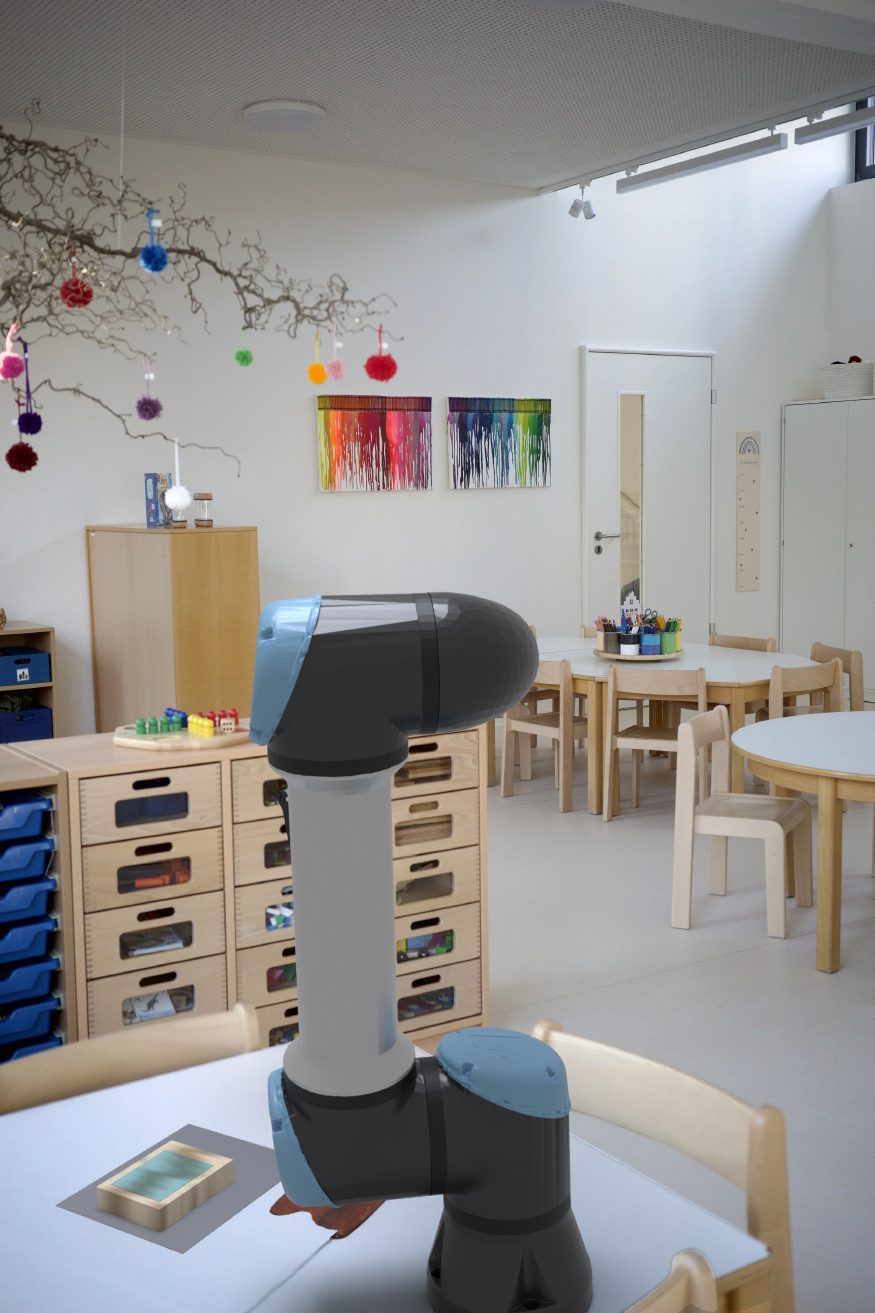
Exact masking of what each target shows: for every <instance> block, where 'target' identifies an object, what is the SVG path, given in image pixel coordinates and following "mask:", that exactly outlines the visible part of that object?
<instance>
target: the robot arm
mask: <svg viewBox="0 0 875 1313" xmlns="http://www.w3.org/2000/svg"><path fill="white" fill-rule="evenodd" d="M256 632H257V634H256V647H255V656H254V658H255V659H254V670H253V678H252V679H253V681H252V694H251V696H252V697H251V703H250V704H251V705H250V706H251V708H250V716H249V718H250V719H249V731H248V739H249V742H250V743H252V744H255V745H258V746H259V747H265V746H266V751H267V753H266V754H267V763H268V766H269V768H270V769H271V770H273V772H275V773H276V774H277V775H278V776H280V777H281V778H282V779H283V780H284V781H285V782H286V784H287V788H286V789H284V790H279V791H277V792H276V793H275V798H276V800H277V802H278V804H279V806H280V808H281V810H282V814H283V820H284V826H285V831H286V837H287V841H288V842H287V843H288V848H289V853H290V861H291V863H290V864H291V866H290V867H291V884H292V885H291V886H292V905H293V906H292V908H293V924H294V925H293V927H294V928H293V930H294V948H295V950H294V951H295V952H294V953H295V968H296V969H295V970H296V974H295V975H296V991H297V992H296V993H297V994H296V995H297V1013H298V1014H297V1015H298V1033H299V1035H298V1036H297V1037H295V1038H294V1039H293V1040H292V1041H291V1042H289V1044H288V1045H287V1047H286V1049H285V1051H284V1053H283V1057H282V1067H281V1068H280V1067H279V1068H278V1069H275V1070H273V1071H271V1072H270V1073H269V1075H268V1078H267V1101H268V1113H269V1118H270V1125H271V1131H272V1134H271V1135H272V1143H273V1149H274V1150H275V1156H276V1161H277V1166H278V1171H279V1175H280V1179H281V1182H280V1183H281V1186H282V1188H283V1192H284V1193H285V1194H286V1196H287V1197H288V1198H289V1199H290V1200H291V1201H292V1202H293V1203H294V1204H296V1205H298V1206H301V1207H318V1206H331V1207H335V1208H339V1207H342V1206H343V1205H346V1204H356V1203H365V1202H375V1201H384V1202H385V1201H393V1200H402V1199H413V1198H422V1197H423V1198H424V1197H431V1196H441V1195H442V1200H443V1208H442V1211H441V1216H440V1220H439V1223H438V1226H437V1229H436V1233H435V1236H434V1238H433V1243H432V1245H431V1249H430V1251H429V1252H430V1253H429V1256H428V1260H427V1265H426V1266H427V1267H426V1287H427V1288H426V1289H427V1290H426V1293H427V1298H428V1301H429V1304H430V1306H431V1308H432V1310H433V1311H434V1312H435V1313H586V1311H587V1310H588V1309H589V1306H590V1305H591V1302H592V1299H593V1269H592V1267H593V1266H592V1263H591V1259H590V1255H589V1253H588V1251H587V1248H586V1245H585V1242H584V1240H583V1237H582V1233H581V1231H580V1227H579V1225H578V1223H577V1220H576V1216H575V1215H574V1211H573V1208H572V1194H571V1192H572V1191H571V1186H572V1185H571V1180H572V1179H571V1146H570V1143H571V1142H570V1138H571V1136H570V1112H571V1109H572V1103H571V1099H570V1094H569V1085H568V1076H567V1068H566V1065H565V1063H564V1060H563V1059H562V1058H561V1056H560V1055H559V1053H558V1052H557V1051H556V1050H555V1049H554V1048H553V1047H552V1046H550V1045H549V1044H547V1043H546V1042H545V1041H542V1040H540V1039H539V1038H536V1037H533V1036H531V1035H529V1034H526V1033H523V1032H520V1031H516V1030H511V1029H506V1028H501V1027H489V1026H485V1027H483V1026H479V1027H478V1026H474V1027H473V1026H472V1027H466V1028H459V1029H458V1030H456V1032H453V1031H452V1032H448V1033H447V1034H445V1035H444V1036H443V1037H442V1038H441V1039H440V1041H439V1043H438V1046H437V1047H436V1050H435V1055H431V1056H421V1057H416V1048H415V1046H414V1043H413V1041H412V1040H411V1039H410V1038H409V1036H408V1035H406V1033H404V1032H402V1031H401V1030H400V1029H398V1003H397V1002H398V1001H397V999H398V998H397V967H396V966H397V963H396V929H395V927H396V926H395V894H394V893H395V889H394V887H395V886H394V850H393V848H394V846H393V814H392V808H393V807H392V778H393V776H394V775H395V774H396V773H397V772H398V771H399V770H401V768H402V767H403V766H404V765H405V764H406V763H408V761H409V757H410V756H409V755H410V753H409V737H414V736H423V735H424V736H426V735H427V736H428V735H435V734H436V735H437V734H438V735H439V734H441V735H442V734H448V733H455V732H460V731H464V730H469V729H472V728H476V727H478V726H482V725H484V724H486V723H488V722H491V721H493V720H495V719H497V718H499V717H501V716H503V715H504V714H506V713H508V712H509V711H510V710H511V709H513V708H515V707H516V706H517V705H518V704H519V703H520V702H521V701H522V700H523V699H524V698H525V697H526V696H527V694H528V693H529V691H530V690H531V689H532V687H533V685H534V683H535V680H536V678H537V674H538V670H539V666H540V652H539V647H538V642H537V641H538V640H537V638H536V636H535V633H534V632H533V630H532V629H531V627H530V626H529V624H528V623H527V621H525V619H524V618H523V617H522V616H521V615H520V614H519V613H517V612H516V611H514V610H513V609H511V608H509V607H508V606H506V605H504V604H502V603H499V602H497V601H494V600H490V599H486V598H483V597H480V596H476V595H473V594H467V593H459V592H454V591H453V592H451V591H427V592H420V593H419V592H415V593H414V592H413V593H411V592H410V593H381V594H379V593H377V594H374V593H373V594H368V593H367V594H333V595H331V594H329V595H327V594H326V595H321V594H314V595H312V596H305V597H296V598H295V597H294V598H287V599H286V598H285V599H279V600H275V601H272V602H269V603H268V604H267V605H266V606H265V607H264V608H263V610H262V611H261V612H260V615H259V617H258V621H257V631H256Z"/></svg>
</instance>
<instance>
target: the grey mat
mask: <svg viewBox="0 0 875 1313" xmlns="http://www.w3.org/2000/svg"><path fill="white" fill-rule="evenodd" d="M171 1140H172V1141H176V1142H179V1143H182V1144H185V1145H188V1146H191V1147H195V1148H198V1149H201V1150H204V1151H207V1152H211V1153H214V1154H217V1155H220V1156H223V1157H226V1158H230V1159H233V1168H234V1181H233V1182H232V1183H230V1184H229V1185H227V1186H226V1187H225V1188H223V1189H222V1190H220V1191H219V1192H218V1193H216V1194H215V1195H213V1196H212V1197H210V1198H209V1199H208V1200H206V1201H205V1202H203V1203H202V1204H200V1205H199V1206H198V1207H196V1208H195V1209H193V1210H192V1211H191V1212H189V1213H188V1214H186V1215H185V1216H183V1217H182V1218H181V1219H179V1220H178V1221H176V1222H175V1223H173V1224H172V1225H171V1226H169V1227H168V1228H166V1229H165V1230H164V1231H162V1232H159V1231H156V1230H154V1229H151V1228H148V1227H145V1226H143V1225H140V1224H137V1223H135V1222H132V1221H129V1220H127V1219H124V1218H121V1217H118V1216H116V1215H113V1214H110V1213H108V1212H105V1211H102V1210H100V1209H98V1205H97V1189H96V1187H97V1186H98V1185H100V1184H102V1183H103V1182H105V1181H107V1180H108V1179H110V1178H111V1177H113V1176H115V1175H116V1174H118V1173H119V1172H121V1171H123V1170H124V1169H126V1168H128V1167H129V1166H131V1165H132V1164H134V1163H136V1162H137V1161H139V1160H140V1159H142V1158H144V1157H145V1156H147V1155H149V1154H150V1153H152V1152H153V1151H155V1150H157V1149H158V1148H160V1147H161V1146H163V1145H165V1144H166V1143H168V1142H170V1141H171ZM279 1183H281V1179H280V1175H279V1171H278V1166H277V1161H276V1156H275V1150H274V1148H270V1147H267V1146H265V1145H260V1144H257V1143H254V1142H251V1141H249V1140H248V1141H247V1140H244V1139H240V1138H238V1137H234V1136H231V1135H228V1134H223V1133H221V1132H218V1131H213V1130H211V1129H207V1128H204V1127H201V1126H198V1125H194V1124H191V1123H187V1124H185V1125H184V1126H183V1127H181V1128H179V1129H177V1130H176V1131H174V1132H173V1133H171V1134H170V1135H168V1136H166V1137H165V1138H163V1139H161V1140H159V1141H158V1142H156V1143H154V1144H153V1145H151V1146H150V1147H148V1148H146V1149H145V1150H143V1151H142V1152H140V1153H138V1154H137V1155H135V1156H134V1157H131V1158H130V1159H129V1160H127V1161H125V1162H123V1163H122V1164H120V1165H119V1166H117V1167H116V1168H114V1169H112V1170H110V1171H109V1172H108V1173H106V1174H104V1175H102V1176H101V1177H99V1178H98V1179H96V1180H94V1181H93V1182H91V1183H89V1184H88V1185H86V1186H84V1187H83V1188H82V1189H79V1190H78V1191H77V1192H75V1193H73V1194H71V1195H69V1197H67V1198H65V1199H63V1200H62V1201H59V1203H57V1204H56V1205H55V1207H58V1208H61V1209H64V1210H66V1211H67V1212H71V1213H74V1214H77V1215H79V1216H81V1217H84V1218H86V1219H87V1218H88V1219H90V1220H92V1221H95V1222H98V1223H100V1224H103V1225H106V1226H107V1227H111V1228H114V1229H116V1230H119V1231H121V1232H124V1233H126V1234H130V1235H131V1236H134V1237H137V1238H140V1239H143V1240H144V1241H148V1242H150V1243H152V1244H155V1245H159V1246H160V1247H164V1248H166V1249H169V1250H171V1251H174V1252H176V1253H180V1254H181V1255H184V1254H185V1253H186V1252H187V1251H189V1250H190V1249H191V1248H193V1247H194V1246H196V1245H197V1244H198V1243H199V1242H201V1241H203V1240H204V1239H205V1238H206V1237H208V1236H209V1235H210V1234H212V1233H213V1232H215V1231H216V1230H217V1229H218V1228H220V1227H222V1225H224V1224H225V1223H227V1222H228V1221H230V1220H231V1219H232V1218H233V1217H235V1216H236V1215H237V1214H239V1213H240V1212H242V1211H243V1210H244V1209H245V1208H247V1207H248V1206H250V1205H251V1204H252V1203H254V1202H255V1201H256V1200H258V1199H259V1198H261V1197H262V1196H263V1195H265V1194H266V1193H267V1192H268V1191H269V1190H271V1189H273V1188H274V1187H275V1186H276V1185H278V1184H279Z"/></svg>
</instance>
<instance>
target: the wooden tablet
mask: <svg viewBox="0 0 875 1313" xmlns="http://www.w3.org/2000/svg"><path fill="white" fill-rule="evenodd" d="M384 1202H385V1201H375V1202H365V1203H356V1204H346V1205H343V1206H342V1207H339V1208H335V1207H331V1206H318V1207H301V1206H298V1205H296V1204H294V1203H293V1202H292V1201H291V1200H290V1199H289V1198H288V1197H287V1196H286V1194H285V1192H284V1193H283V1194H282V1195H281V1196H280V1197H279V1198H277V1200H276V1201H275V1202H274V1203H273V1204H272V1205H271V1206H270V1208H269V1210H268V1211H269V1213H270V1214H271V1215H273V1216H276V1217H277V1216H278V1217H279V1216H280V1217H281V1216H289V1215H293V1214H296V1213H300V1212H303V1213H309V1214H310V1215H311V1220H312V1221H313V1222H314V1224H316V1226H318V1227H321V1228H323V1229H326V1230H331V1231H332V1230H334V1231H336V1232H335V1233H333V1234H332V1235H331V1236H330V1237H329V1239H332V1240H338V1239H342V1238H344V1237H346V1236H347V1235H348V1234H349V1233H351V1232H352V1231H353V1230H354V1229H356V1228H357V1227H358V1226H359V1225H360V1224H362V1222H364V1221H365V1220H366V1219H367V1218H368V1217H369V1216H370V1215H372V1213H374V1212H375V1211H376V1210H377V1209H378V1208H379V1207H380V1206H381V1205H382V1204H383V1203H384Z"/></svg>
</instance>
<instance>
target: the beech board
mask: <svg viewBox="0 0 875 1313" xmlns="http://www.w3.org/2000/svg"><path fill="white" fill-rule="evenodd" d="M233 1181H234V1168H233V1159H230V1158H226V1157H223V1156H220V1155H217V1154H214V1153H211V1152H207V1151H204V1150H201V1149H198V1148H195V1147H191V1146H188V1145H185V1144H182V1143H179V1142H176V1141H172V1140H171V1141H170V1142H168V1143H166V1144H165V1145H163V1146H161V1147H160V1148H158V1149H157V1150H155V1151H153V1152H152V1153H150V1154H149V1155H147V1156H145V1157H144V1158H142V1159H140V1160H139V1161H137V1162H136V1163H134V1164H132V1165H131V1166H129V1167H128V1168H126V1169H124V1170H123V1171H121V1172H119V1173H118V1174H116V1175H115V1176H113V1177H111V1178H110V1179H108V1180H107V1181H105V1182H103V1183H102V1184H100V1185H98V1186H97V1187H96V1189H97V1205H98V1209H100V1210H102V1211H105V1212H108V1213H110V1214H113V1215H116V1216H118V1217H121V1218H124V1219H127V1220H129V1221H132V1222H135V1223H137V1224H140V1225H143V1226H145V1227H148V1228H151V1229H154V1230H156V1231H159V1232H162V1231H164V1230H165V1229H166V1228H168V1227H169V1226H171V1225H172V1224H173V1223H175V1222H176V1221H178V1220H179V1219H181V1218H182V1217H183V1216H185V1215H186V1214H188V1213H189V1212H191V1211H192V1210H193V1209H195V1208H196V1207H198V1206H199V1205H200V1204H202V1203H203V1202H205V1201H206V1200H208V1199H209V1198H210V1197H212V1196H213V1195H215V1194H216V1193H218V1192H219V1191H220V1190H222V1189H223V1188H225V1187H226V1186H227V1185H229V1184H230V1183H232V1182H233Z"/></svg>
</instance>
